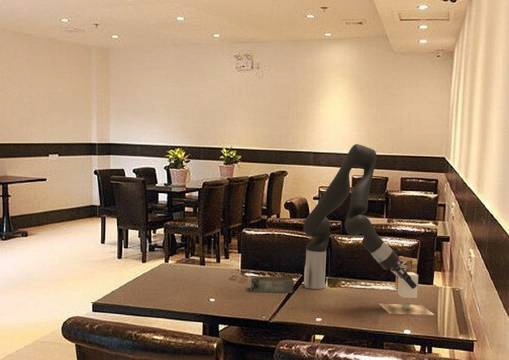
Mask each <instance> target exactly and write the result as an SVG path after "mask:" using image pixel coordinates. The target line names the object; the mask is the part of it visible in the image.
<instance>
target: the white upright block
mask: <svg viewBox="0 0 509 360" xmlns="http://www.w3.org/2000/svg"><path fill="white" fill-rule="evenodd" d="M407 274H408V275H409V276H410V277H411V279H412V281H413V282H414V283H415V284H416V285H417V286H416V287H415V288H414V289H412V288H411V287H410V286H409V285H408V284H407V283H406V282H405V281H404V280H403V279H401V278H400V277H399V276H398V289H397V295H398V296H400V297H401V298H406V299H407V298H410V299H417V298H418V286H419V285H418V284H419V274H418V273H416V274H415V273H413V272H407ZM407 278H408V277H407V276H406V277H405V279H407Z"/></svg>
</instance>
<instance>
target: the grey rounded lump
mask: <svg viewBox="0 0 509 360" xmlns="http://www.w3.org/2000/svg"><path fill="white" fill-rule="evenodd" d="M401 304H402V309H403V310H410V305H411V304H410V303H408V302H402V303H401Z"/></svg>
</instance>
